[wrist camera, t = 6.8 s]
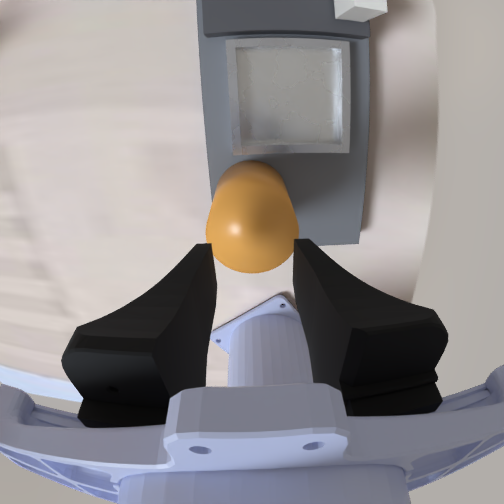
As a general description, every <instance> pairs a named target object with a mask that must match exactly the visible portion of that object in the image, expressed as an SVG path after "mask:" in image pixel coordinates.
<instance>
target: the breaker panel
mask: <svg viewBox="0 0 504 504" xmlns="http://www.w3.org/2000/svg"><path fill="white" fill-rule="evenodd" d="M196 3H197V24H198V42H199V58H200V73H201V86H202V99H203V112H204V124H205V135H206V146H207V157H208V167H209V177H210V187H211V196H212V202H213V198H214V195H215V191H216V187H217V184H218V181H219V179H220V177H221V176H222V174H223V173H224V172H225V171H226V170H227V169H228V168H229V167H231V166H232V165H234V164H236V163H239V162H242V161H248V160H254V161H260V162H263V163H266V164H268V165H270V166H271V167H273V168H274V169H275V170H276V171H277V172H278V173H279V174H280V175H281V177H282V179H283V181H284V183H285V186H286V189H287V192H288V195H289V198H290V200H291V203H292V206H293V209H294V212H295V215H296V218H297V221H298V225H299V238H298V239H305V238H309V239H310V240H311V241H313V242H314V243H315V244H316V245H317V246H324V245H344V244H359V237H360V229H361V221H362V213H363V203H364V193H365V182H366V170H367V155H368V137H369V108H370V64H369V37H370V24H369V20H367V21H365V22H359V21H351V20H343V19H335V7H334V0H196ZM247 38H309V39H325V40H337V41H347V42H349V45H350V86H351V103H350V146H349V153H274V154H250V155H233V148H232V133H231V118H230V103H229V88H228V71H227V55H226V40H230V39H247Z"/></svg>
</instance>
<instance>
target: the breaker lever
mask: <svg viewBox="0 0 504 504" xmlns="http://www.w3.org/2000/svg"><path fill="white" fill-rule="evenodd" d="M334 7H335V19H343V20H351V21H359V22H365V21H367V20H370V19H372V18H374V17H377V16H379V15H381V14H384V13H386V12H387V1H386V0H334Z"/></svg>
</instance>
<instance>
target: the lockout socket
mask: <svg viewBox="0 0 504 504" xmlns="http://www.w3.org/2000/svg"><path fill="white" fill-rule="evenodd" d="M226 55H227V71H228V88H229V103H230V118H231V133H232V148H233V155H250V154H274V153H349V146H350V103H351V86H350V45H349V42H347V41H337V40H325V39H309V38H247V39H230V40H226Z"/></svg>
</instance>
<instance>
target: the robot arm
mask: <svg viewBox="0 0 504 504" xmlns="http://www.w3.org/2000/svg"><path fill="white" fill-rule="evenodd" d="M293 286H294V293H295V300H296V304H297V308H298V311H297V310H296V309H295V308H294V307H293V306H292V305H291V304H290V302H289V301H288V300H287V299H286V298H285V297H284V296H283V295H277V296H275V297H273V298H271V299H270V300H268V301H266V302H265V303H263V304H261V305H259V306H257V307H256V308H254V309H252V310H250V311H249V312H247V313H245V314H243V315H242V316H240V317H238V318H236V319H234V320H233V321H231V322H229V323H227V324H225V325H223V326H222V327H220V328H218V329H216V330H214V331H212V332H211V330H212V324H213V319H214V313H215V308H216V297H217V280H216V273H215V266H214V258H213V251H212V243H205V244H196V245H195V246H194V247H193V248H192V249H191V250H190V251H189V253H188V254H187V255H186V256H185V257H184V258H183V259H182V260H181V261H180V262H179V263H178V264H177V265H176V266H175V268H174V269H172V270H171V271H170V272H169V273H168V274H167V275H166V276H165V277H164V278H163V279H162V280H161V281H159V282H158V283H157V284H156V285H155V286H153V287H152V288H151V289H149V290H148V291H147V292H145V293H144V294H143V295H141V296H140V297H138V298H137V299H135V300H133V301H132V302H130V303H129V304H127V305H125V306H124V307H122V308H120V309H118V310H116V311H114V312H112V313H110V314H108V315H106V316H104V317H102V318H99V319H97V320H94V321H92V322H89V323H87V324H84V325H81V326H78V327H77V328H76V330H75V332H74V334H73V336H72V338H71V339H70V341H69V343H68V345H67V347H66V349H65V351H64V353H63V356H62V360H61V362H62V367H63V369H64V371H65V373H66V375H67V376H68V378H69V379H70V381H71V382H72V383H73V385H74V386H75V388H76V389H77V390H78V392H79V393H80V394H81V396H82V397H83V401H82V404H81V407H80V410H79V413H78V414H75V413H70V412H65V411H61V410H57V409H53V408H49V407H45V406H41V405H38V404H35V403H34V401H33V400H32V398H31V397H30V396H29V395H28V394H27V393H26V392H24V391H23V390H21V389H18V388H15V387H11V386H8V385H5V384H1V386H0V452H1V453H2V454H3V455H5V456H6V457H7V458H9V459H10V460H11V461H13V462H14V463H15V464H17V465H18V466H20V467H22V468H24V469H27V470H29V471H31V472H33V473H36V474H38V475H40V476H43V477H45V478H47V479H50V480H52V481H55V482H57V483H59V484H62V485H64V486H67V487H70V488H72V489H75V490H78V491H80V492H83V493H86V494H89V495H92V496H95V497H98V498H101V499H104V500H108V501H111V502H114V503H117V504H411V501H410V497H409V493H408V492H409V491H412V490H414V489H417V488H419V487H422V486H424V485H427V484H429V483H432V482H434V481H436V480H439V479H441V478H443V477H445V476H447V475H449V474H452V473H454V472H456V471H458V470H460V469H462V468H464V467H466V466H468V465H470V464H471V463H474V462H476V461H477V460H479V459H481V458H483V457H485V456H487V455H488V454H490V453H492V452H494V451H495V450H497V449H499V448H501V447H503V446H504V365H502V366H500V367H498V368H496V369H495V370H494V371H493V372H492V373H491V374H490V375H489V377H488V378H487V380H486V382H485V383H484V384H481V385H478V386H476V387H473V388H470V389H468V390H464V391H461V392H458V393H456V394H452V395H449V396H446V397H443V398H442V397H441V395H440V393H439V390H438V388H437V386H436V384H435V382H437V380H438V376H437V374H436V372H435V367H436V365H437V364H438V362H439V360H440V358H441V356H442V354H443V352H444V350H445V348H446V345H447V343H448V333H447V330H446V328H445V326H444V325H443V323H442V321H441V320H440V318H439V317H438V315H437V314H436V312H435V311H434V310H433V309H429V308H426V307H422V306H418V305H415V304H411V303H408V302H406V301H403V300H400V299H398V298H395V297H393V296H390V295H388V294H386V293H384V292H382V291H380V290H378V289H375V288H373V287H372V286H370V285H368V284H366V283H365V282H363V281H361V280H360V279H358V278H356V277H355V276H353V275H352V274H350V273H349V272H348V271H346V270H345V269H344V268H342V267H341V266H340V265H338V264H337V263H336V262H335V261H334V260H332V259H331V258H330V257H329V256H328V255H327V254H325V253H324V252H323V251H322V250H321V249H320V248H319V247H318V246H317V245H316V244H315V243H314V242H313V241H311V240H310V239H309V238H305V239H294V256H293ZM281 304H285V305H281ZM210 339H211V340H212V341H213V342H214V343H216V344H217V345H218V346H219V347H220V348H222V349H223V350H224V351H225V352H227V353H228V354H229V365H228V387H206V366H207V353H208V346H209V341H210ZM218 339H220V340H218Z"/></svg>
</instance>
